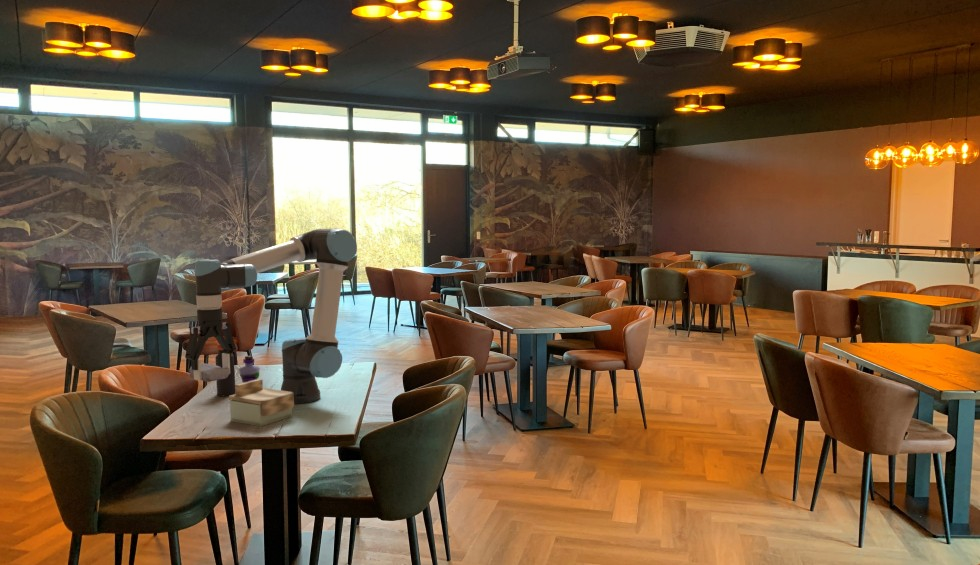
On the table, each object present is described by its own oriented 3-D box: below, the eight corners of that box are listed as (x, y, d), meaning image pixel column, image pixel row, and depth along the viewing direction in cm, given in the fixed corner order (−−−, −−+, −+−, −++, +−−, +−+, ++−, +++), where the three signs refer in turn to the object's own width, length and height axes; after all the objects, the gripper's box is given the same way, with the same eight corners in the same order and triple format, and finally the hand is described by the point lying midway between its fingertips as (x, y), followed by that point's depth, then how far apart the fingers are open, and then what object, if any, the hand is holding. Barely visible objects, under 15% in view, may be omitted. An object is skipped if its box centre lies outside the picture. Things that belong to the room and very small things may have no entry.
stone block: (214, 377, 237) (185, 377, 229) (216, 363, 237) (188, 362, 230) (233, 383, 230) (205, 383, 222) (236, 369, 230) (207, 368, 222)
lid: (261, 401, 252) (260, 377, 252) (295, 406, 244) (294, 382, 244) (229, 410, 240) (228, 385, 240) (263, 416, 232) (262, 390, 232)
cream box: (263, 411, 252) (262, 391, 252) (291, 416, 246) (291, 396, 245) (230, 420, 240) (230, 400, 240) (260, 426, 233) (259, 405, 233)
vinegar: (218, 393, 280) (215, 342, 279) (236, 391, 282) (234, 341, 280) (216, 397, 274) (213, 345, 272) (234, 395, 275) (232, 344, 274)
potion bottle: (258, 386, 291) (257, 357, 290) (236, 387, 289) (235, 358, 288) (262, 382, 299) (261, 353, 298) (240, 382, 298) (239, 354, 297)
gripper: (230, 303, 240) (233, 368, 241) (170, 311, 220) (173, 382, 222) (246, 304, 236) (248, 370, 238) (186, 312, 216) (189, 384, 218)
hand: (212, 376), depth 230 cm, fingers closed on stone block, 10 cm apart
